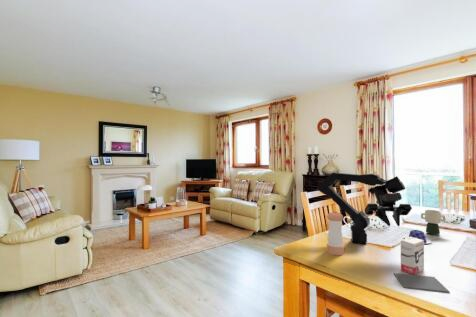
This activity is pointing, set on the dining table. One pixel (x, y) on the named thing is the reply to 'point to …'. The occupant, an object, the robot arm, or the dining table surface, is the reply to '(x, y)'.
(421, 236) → the blue low rounded piece
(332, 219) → the pepper shaker
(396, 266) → the dining table surface
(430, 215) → the character mug
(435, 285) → the mat
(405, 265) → the ink box
